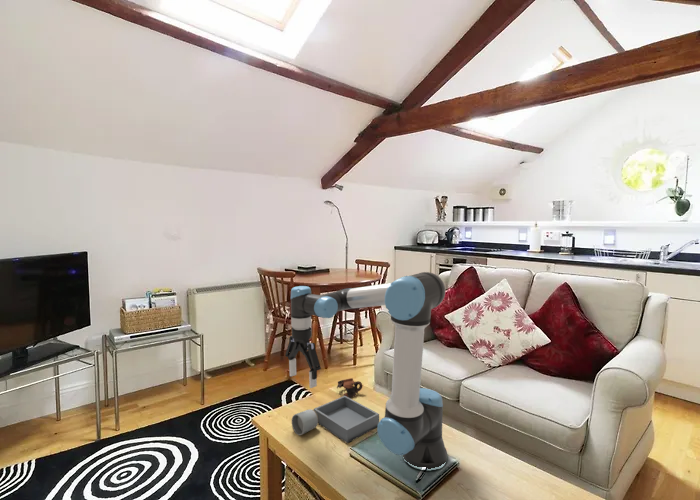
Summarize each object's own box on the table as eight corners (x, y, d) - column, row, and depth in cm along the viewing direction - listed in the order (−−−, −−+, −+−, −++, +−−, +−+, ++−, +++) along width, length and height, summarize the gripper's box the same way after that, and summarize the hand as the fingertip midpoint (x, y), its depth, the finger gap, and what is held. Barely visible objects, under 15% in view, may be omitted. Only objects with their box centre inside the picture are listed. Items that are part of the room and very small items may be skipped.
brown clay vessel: (337, 400, 172) (334, 381, 175) (341, 400, 180) (338, 382, 183) (363, 394, 171) (359, 375, 174) (366, 394, 179) (362, 376, 183)
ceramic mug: (320, 429, 148) (319, 410, 147) (303, 438, 142) (303, 418, 141) (302, 420, 155) (302, 401, 155) (286, 428, 149) (285, 409, 149)
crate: (379, 426, 150) (379, 414, 149) (347, 443, 139) (347, 430, 138) (345, 406, 165) (344, 395, 165) (313, 420, 154) (313, 408, 154)
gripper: (329, 332, 138) (330, 388, 140) (291, 318, 157) (293, 368, 159) (312, 337, 133) (313, 395, 135) (275, 322, 152) (277, 373, 154)
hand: (302, 381), depth 147 cm, fingers open, 13 cm apart
